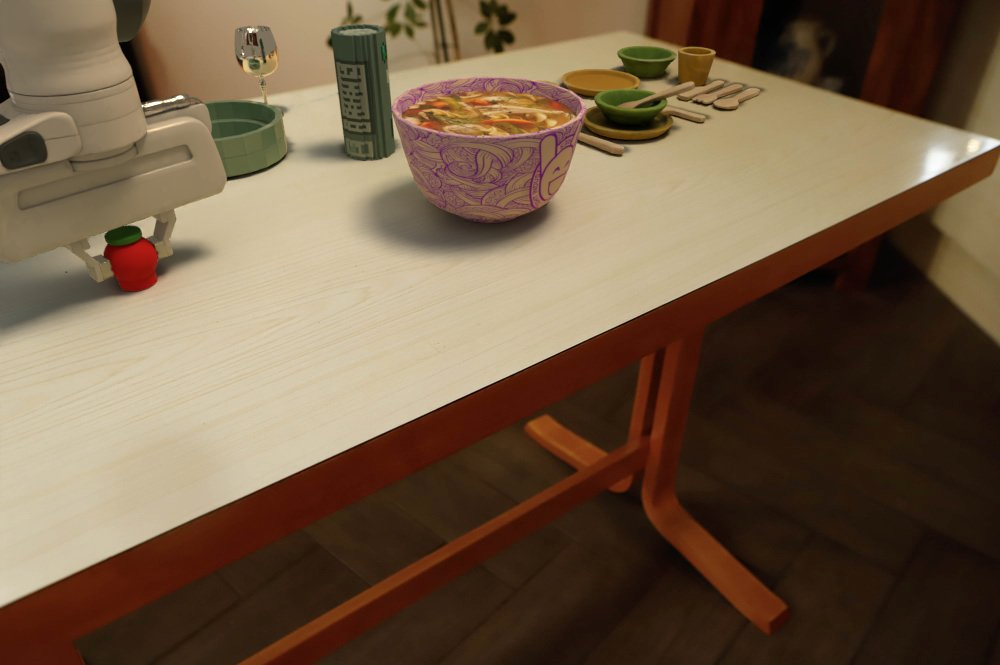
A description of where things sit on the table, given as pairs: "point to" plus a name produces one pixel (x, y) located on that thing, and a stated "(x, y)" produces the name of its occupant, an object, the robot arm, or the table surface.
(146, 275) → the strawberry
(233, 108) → the bowl
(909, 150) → the table surface
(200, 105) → the robot arm
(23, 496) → the table surface
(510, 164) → the bowl of food
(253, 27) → the wineglass
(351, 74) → the can
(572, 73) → the tableware set
